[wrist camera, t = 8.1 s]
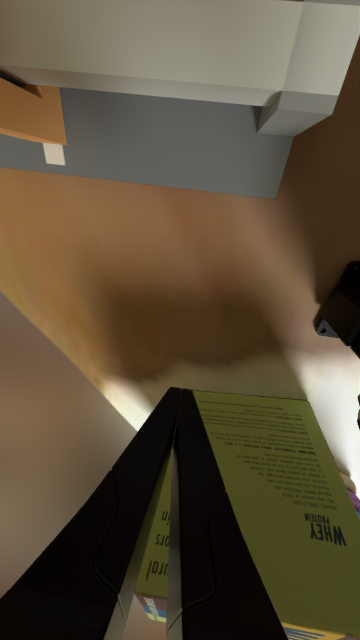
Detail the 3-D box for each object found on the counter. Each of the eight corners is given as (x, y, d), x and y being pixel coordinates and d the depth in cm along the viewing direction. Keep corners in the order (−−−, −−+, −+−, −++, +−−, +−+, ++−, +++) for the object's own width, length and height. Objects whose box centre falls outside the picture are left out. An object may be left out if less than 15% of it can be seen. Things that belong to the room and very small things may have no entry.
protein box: (171, 387, 26) (129, 595, 13) (309, 399, 24) (426, 653, 11) (173, 438, 31) (146, 620, 18) (286, 450, 30) (346, 661, 17)
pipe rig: (332, -27, 10) (459, -249, 5) (270, 197, 15) (301, 205, 10) (-75, -52, 11) (-323, -258, 6) (-10, 165, 16) (-116, 156, 11)
